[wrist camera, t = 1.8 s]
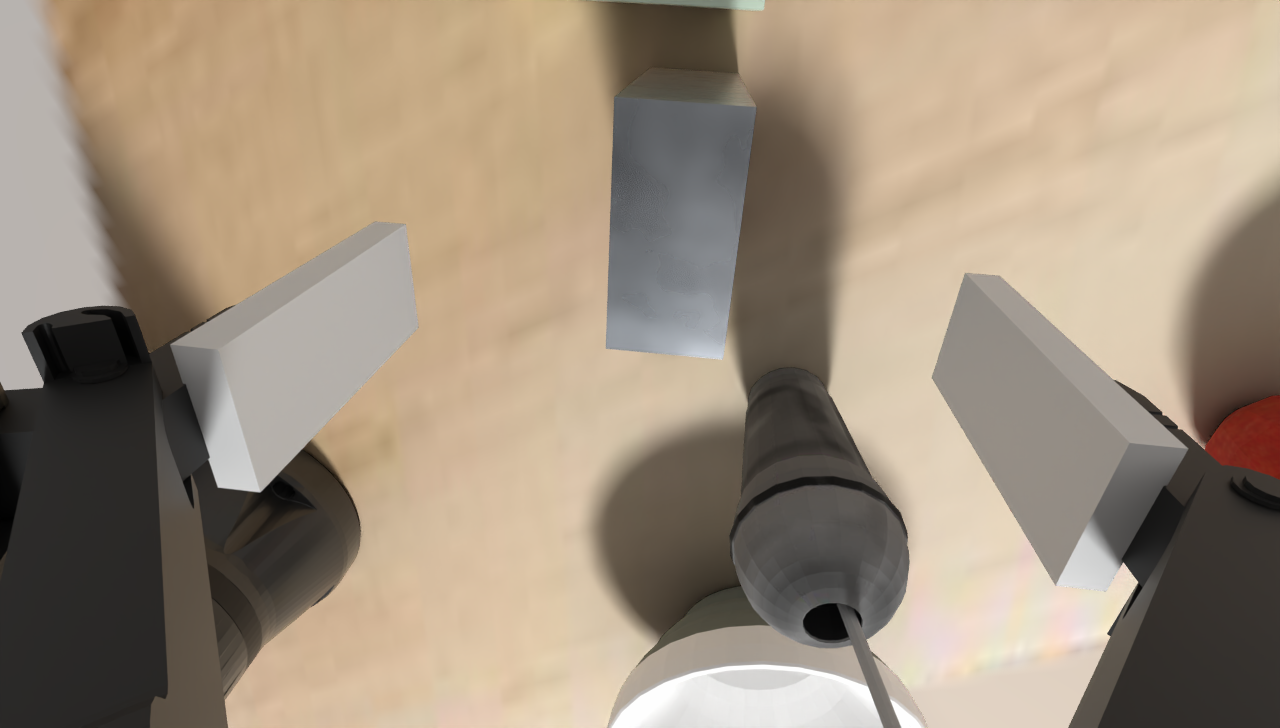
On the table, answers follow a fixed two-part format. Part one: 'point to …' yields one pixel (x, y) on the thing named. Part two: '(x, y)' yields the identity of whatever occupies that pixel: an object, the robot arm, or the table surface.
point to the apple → (1250, 438)
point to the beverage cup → (816, 526)
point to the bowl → (750, 678)
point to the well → (703, 3)
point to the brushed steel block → (676, 210)
